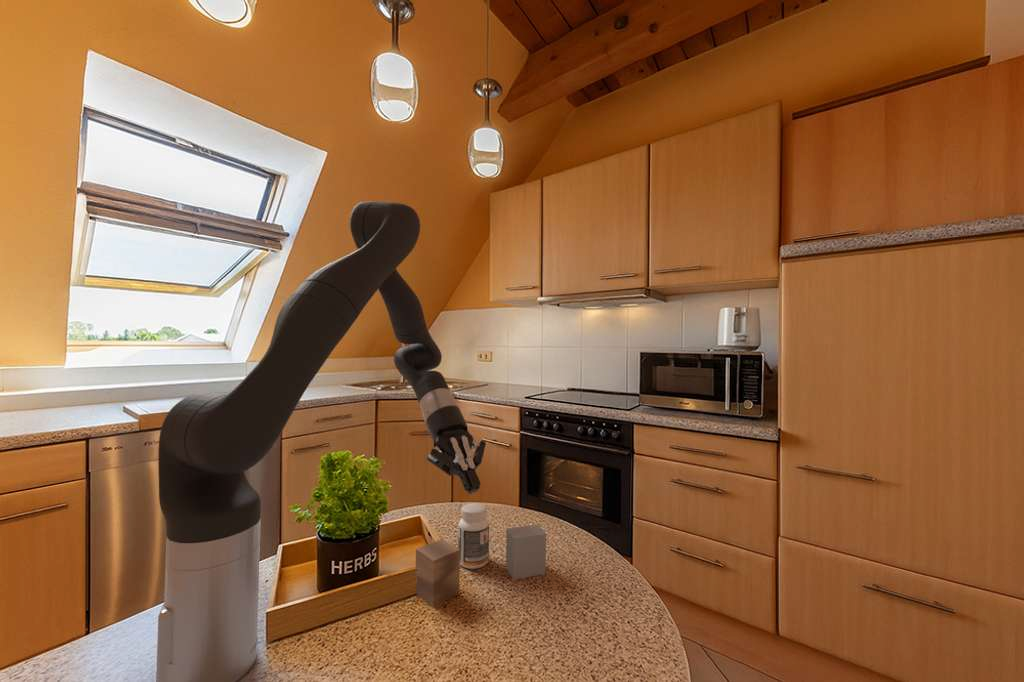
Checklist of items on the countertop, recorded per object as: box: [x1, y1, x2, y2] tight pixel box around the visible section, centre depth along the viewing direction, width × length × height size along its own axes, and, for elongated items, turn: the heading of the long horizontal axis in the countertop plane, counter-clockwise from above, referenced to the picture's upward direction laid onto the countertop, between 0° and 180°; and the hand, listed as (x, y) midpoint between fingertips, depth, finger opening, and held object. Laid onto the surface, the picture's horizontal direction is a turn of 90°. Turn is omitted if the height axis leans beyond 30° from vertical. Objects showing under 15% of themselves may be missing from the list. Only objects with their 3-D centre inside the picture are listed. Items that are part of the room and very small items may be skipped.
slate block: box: [505, 523, 547, 581], centre depth 72 cm, size 6×4×7 cm, turn 110°
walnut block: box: [415, 538, 461, 608], centre depth 65 cm, size 5×5×7 cm
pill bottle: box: [457, 502, 490, 570], centre depth 74 cm, size 6×6×10 cm
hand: (474, 490), depth 75 cm, fingers closed
